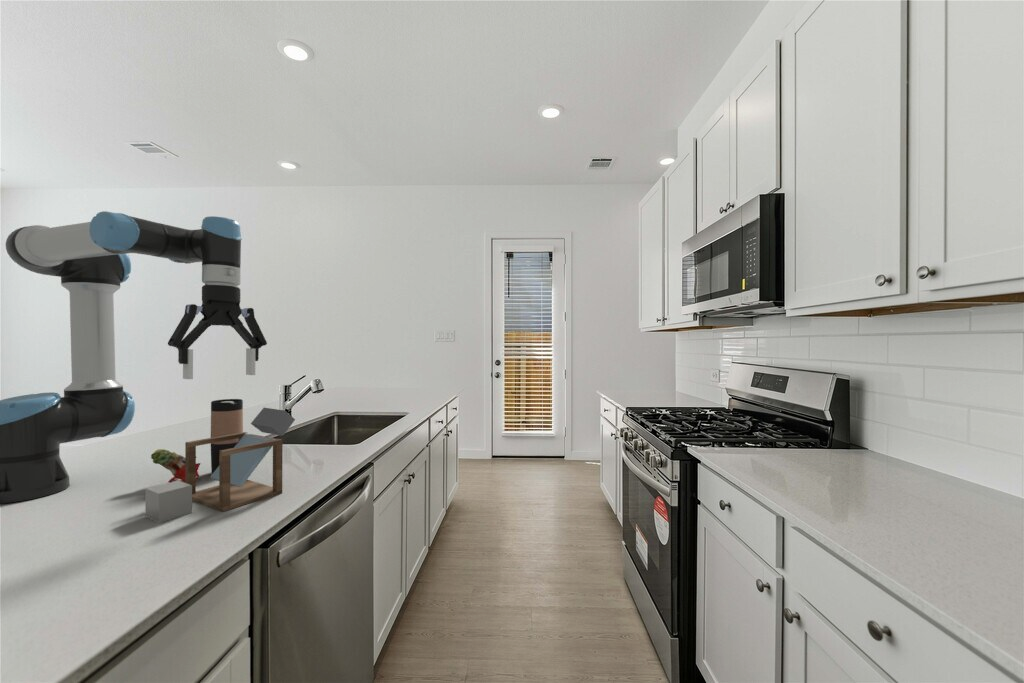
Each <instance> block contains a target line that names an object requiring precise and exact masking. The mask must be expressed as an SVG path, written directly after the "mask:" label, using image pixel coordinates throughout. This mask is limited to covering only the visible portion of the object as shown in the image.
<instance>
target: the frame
mask: <svg viewBox="0 0 1024 683" xmlns="http://www.w3.org/2000/svg"><path fill="white" fill-rule="evenodd" d="M245 433H248V432H247V431H243V432H242V433H236V434H230V435H225V436H219V437H213V438H211V437H209V438H208V437H207V438H203V439H197V440H191V441H186V442H185V449H184V450H185V456H184V457H185V483H187V484H190V485H192V502H197V503H199V504H201V505H204V506H206V507H210V508H212V509H215V510H218V511H220V512H226V511H229V510H232V509H233V510H234V509H236V508H238V507H242V506H246V505H248V504H251V503H252V504H253V503H255V502H258V501H261V500H264V499H268V498H272V497H274V496H277V495H281V494H283V445H284V444H283V442H284V441H283V439H282V438H275V439H276V440H271V441H266V442H260V443H255V444H250V445H245V446H240V447H235V448H230V449H225V450H220V451H219V481H218V482H219V483H218V484H219V485H215V486H211V487H208V488H203V489H200V490H197V487H196V486H197V485H196V482H197V481H196V480H197V479H196V478H197V476H196V464H197V451H196V450H197V447H198V446H204V445H208V444H209V445H211V443H215V442H221V441H226V440H232V439H237V438H238V442H239V441H240V440H241V438H242V437H243V436H244V434H245ZM269 446H272V486H271V485H267V484H264V483H261V482H257V481H253V480H250V479H247V480H246V481H245V483H244V484H243V485H242V487H241V488H240V487H237V486H234V485H231V484H230V455H231V454H236V453H241V452H246V451H250V450H255V449H260V448H264V447H269Z"/></svg>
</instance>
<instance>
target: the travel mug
mask: <svg viewBox="0 0 1024 683" xmlns="http://www.w3.org/2000/svg"><path fill="white" fill-rule="evenodd" d="M243 405H244V400H243V399H240V398H228V399H227V398H225V399H217V400H216V399H215V400H211V402H210V438H213V437H219V436H225V435H230V434H236V433H242V432H244V419H243V418H244V414H243V413H244V412H243V411H244V408H243V407H244V406H243ZM237 443H238V438H237V439H232V440H226V441H221V442H215V443H210V465H211V467H210V468H211V475H212V474H213V473H214V471H215V470H216V469H217V468H218V467H219V451H220V450H225V449H230V448H234V447H235V446H236V445H237Z"/></svg>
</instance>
